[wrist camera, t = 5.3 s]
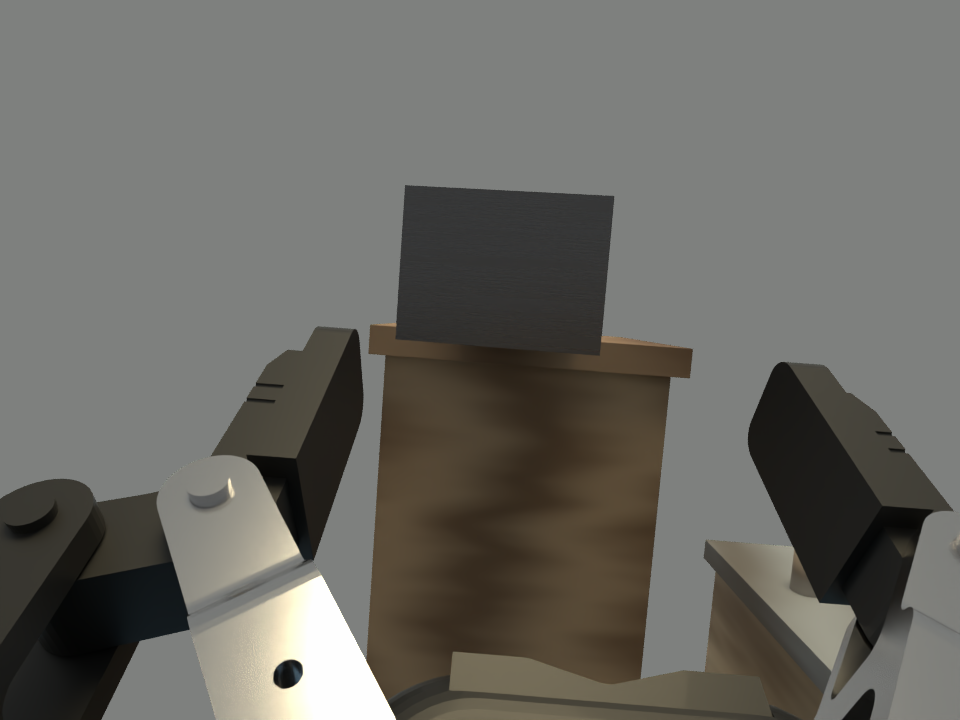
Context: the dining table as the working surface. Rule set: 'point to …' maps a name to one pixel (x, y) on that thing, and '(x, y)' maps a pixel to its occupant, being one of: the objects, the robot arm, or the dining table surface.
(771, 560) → the pin tray stand
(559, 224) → the block
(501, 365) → the tall stand
